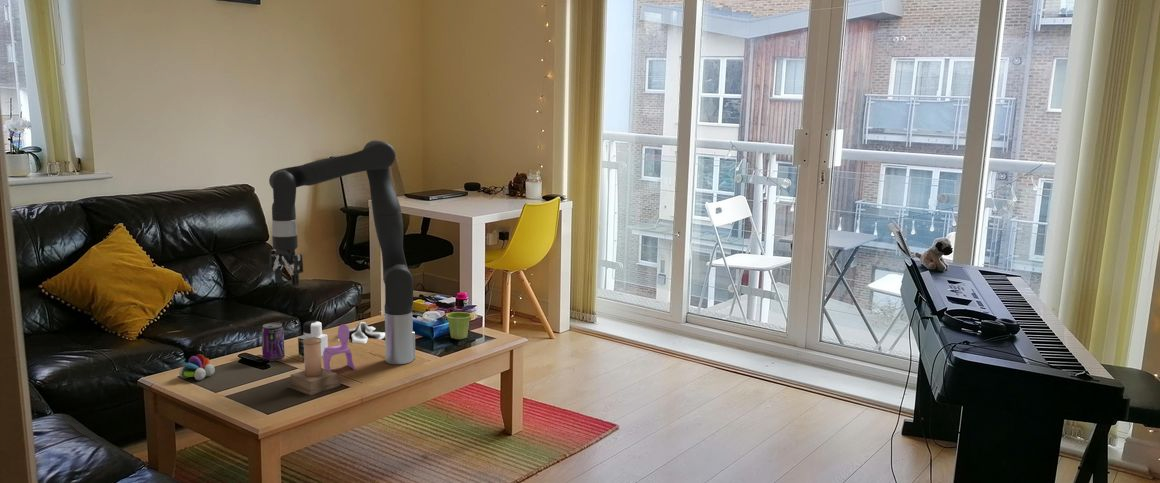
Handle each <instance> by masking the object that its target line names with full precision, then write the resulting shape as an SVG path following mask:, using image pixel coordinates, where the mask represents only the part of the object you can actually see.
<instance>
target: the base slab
mask: <svg viewBox="0 0 1160 483" xmlns="http://www.w3.org/2000/svg"><path fill="white" fill-rule="evenodd" d="M289 377H290V383H289V384H288V385H287V388H290V389H291V390H292V389H293V390H295V391H297V392H301V393H302V394H304V395H305V394H306V395H308V396H312V395H317V394H319V393H322V392H325V391H328V390H331V389H334V388H338V387H340V386H342V385H341V383H342V382H339V379H338V373H337V372H335V371H332V370H331V371H329V370H326V369H324V368H322V374H321V375H319V376H312V377H311V376H306V375H305V370H301V371H299V372H296V373H292V374H290V376H289Z"/></svg>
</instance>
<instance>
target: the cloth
mask: <svg viewBox="0 0 1160 483" xmlns="http://www.w3.org/2000/svg"><path fill="white" fill-rule="evenodd" d="M375 330H376V327H374V326H368V324H367V323H366V321H365V322H364V321H360V322H359V324H357V326H355V327H354V328H352V329H350V328H349V338H350V337H351V339H352V341H351V343H352V344H363V345H364V344H368V343H367V342H368V341H369V338H375V339H377V340H382V339H385V331H383V332H381V331H375ZM337 341H339V342H341V341H340V340H339V338H338V339H337Z"/></svg>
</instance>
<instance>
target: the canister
mask: <svg viewBox="0 0 1160 483" xmlns="http://www.w3.org/2000/svg"><path fill="white" fill-rule="evenodd" d="M303 344H304V358H303V359H304V361H303V362H304V371H305V375H306V376H311V377H312V376H319V375H321V374H322V369H323V368H322V357H321V338H317V337H312V338H306V339H303Z"/></svg>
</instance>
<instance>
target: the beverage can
mask: <svg viewBox="0 0 1160 483" xmlns="http://www.w3.org/2000/svg"><path fill="white" fill-rule="evenodd" d="M284 335H285V334H284V328H283V325H282V323H280V322H268V323H264V324H263V325H262V329H261V350H262V354H261V355H262V359H263V358H266V359H267V360H269V361H268V362H277V361H280V360H282V359H283V358H285V352H286V351H285V338H284V337H285V336H284ZM267 360H266V361H267Z"/></svg>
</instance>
